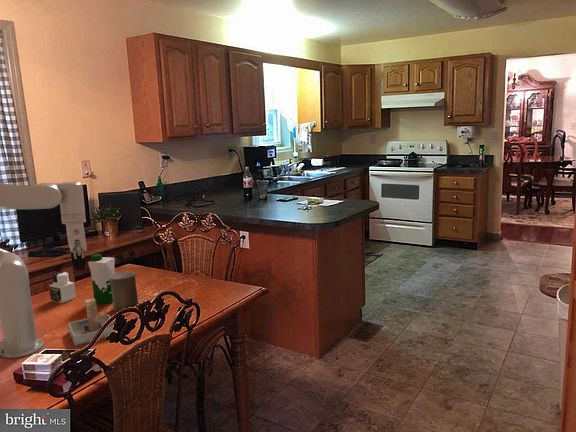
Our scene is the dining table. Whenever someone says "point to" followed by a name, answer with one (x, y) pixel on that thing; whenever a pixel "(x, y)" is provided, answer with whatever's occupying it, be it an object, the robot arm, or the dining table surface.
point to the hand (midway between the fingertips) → (78, 266)
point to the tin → (82, 333)
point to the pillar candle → (123, 290)
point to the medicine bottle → (61, 288)
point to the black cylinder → (92, 314)
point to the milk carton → (102, 277)
